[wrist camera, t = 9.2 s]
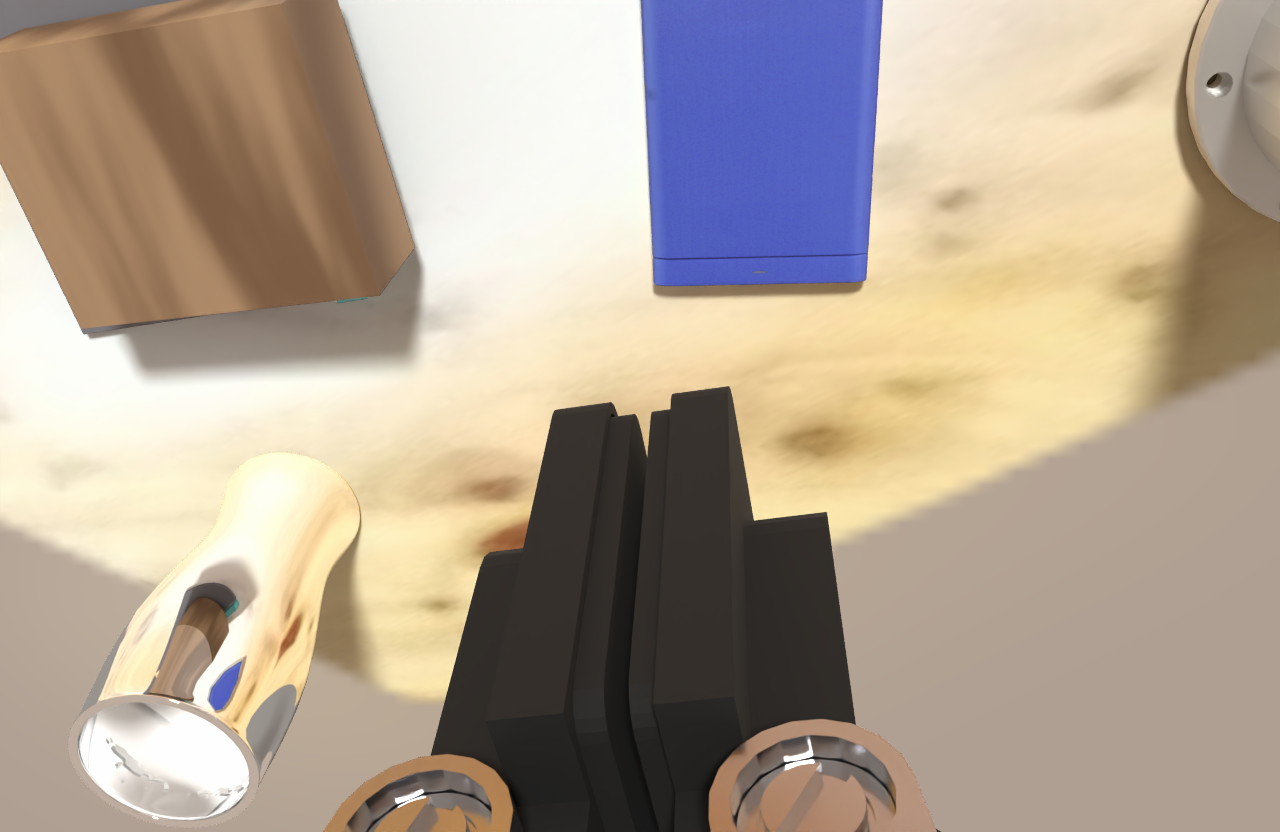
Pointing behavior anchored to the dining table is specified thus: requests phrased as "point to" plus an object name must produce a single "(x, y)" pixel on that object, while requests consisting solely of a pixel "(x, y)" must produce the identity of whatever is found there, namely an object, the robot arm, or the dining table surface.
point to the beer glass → (218, 651)
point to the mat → (17, 3)
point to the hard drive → (760, 138)
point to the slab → (200, 159)
